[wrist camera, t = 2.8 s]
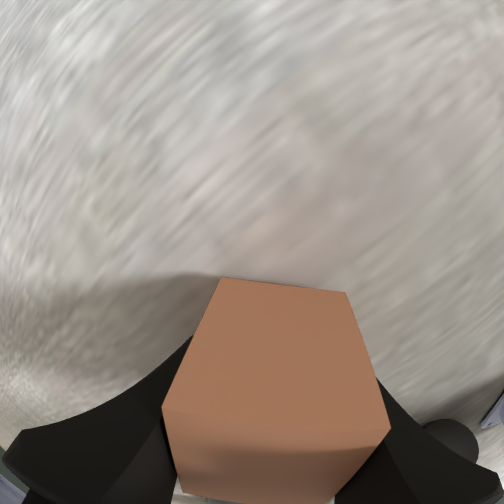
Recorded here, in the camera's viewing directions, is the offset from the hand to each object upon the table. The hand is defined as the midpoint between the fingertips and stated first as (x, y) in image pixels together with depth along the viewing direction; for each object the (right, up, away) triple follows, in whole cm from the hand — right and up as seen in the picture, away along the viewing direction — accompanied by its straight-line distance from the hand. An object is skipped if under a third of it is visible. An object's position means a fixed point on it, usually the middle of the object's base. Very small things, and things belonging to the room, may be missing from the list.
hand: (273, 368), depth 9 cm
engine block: (0, +1, +2) cm, 2 cm away
